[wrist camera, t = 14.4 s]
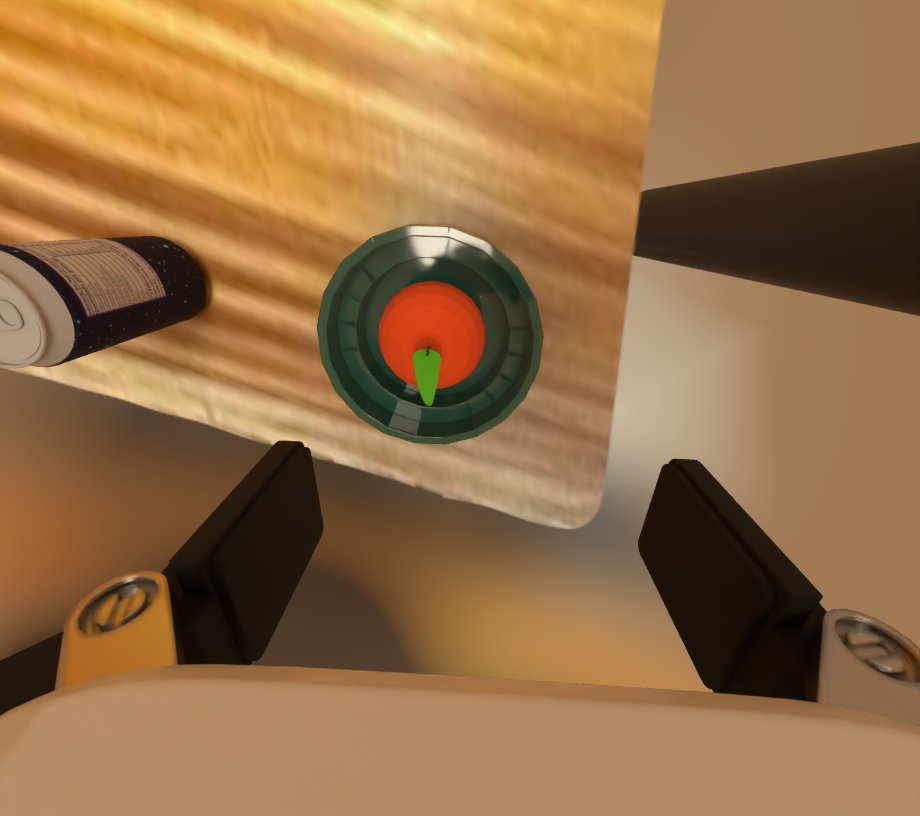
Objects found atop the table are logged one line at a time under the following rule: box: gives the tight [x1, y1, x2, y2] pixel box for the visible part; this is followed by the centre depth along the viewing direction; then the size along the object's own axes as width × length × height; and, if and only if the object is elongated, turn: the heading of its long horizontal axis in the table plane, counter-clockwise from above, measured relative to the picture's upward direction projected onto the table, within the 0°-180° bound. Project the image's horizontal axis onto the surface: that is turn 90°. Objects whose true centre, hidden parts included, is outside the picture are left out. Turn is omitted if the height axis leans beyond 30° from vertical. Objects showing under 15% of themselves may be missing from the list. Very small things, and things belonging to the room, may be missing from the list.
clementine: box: [378, 281, 486, 406], centre depth 25 cm, size 8×7×7 cm
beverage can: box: [0, 236, 206, 368], centre depth 22 cm, size 6×6×12 cm
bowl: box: [317, 224, 543, 444], centre depth 26 cm, size 14×14×5 cm
